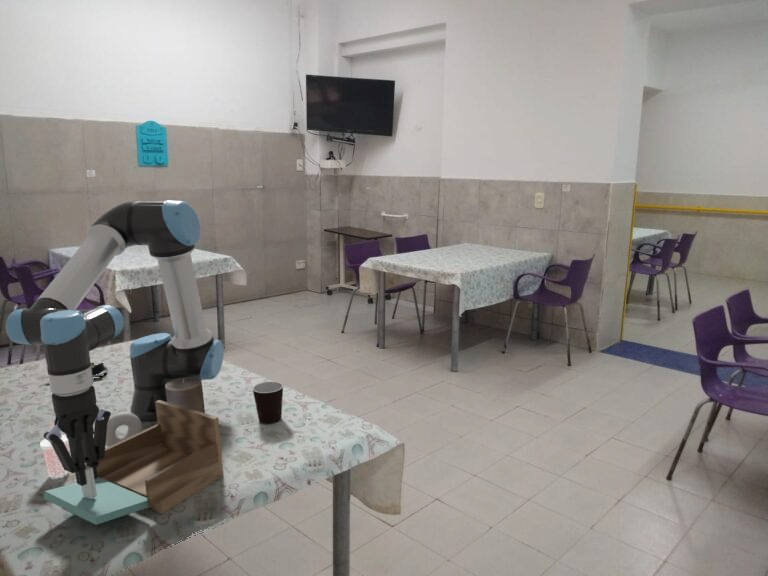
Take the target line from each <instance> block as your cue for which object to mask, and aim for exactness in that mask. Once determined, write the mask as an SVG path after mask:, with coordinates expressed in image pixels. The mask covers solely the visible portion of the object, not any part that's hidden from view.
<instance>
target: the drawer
mask: <svg viewBox="0 0 768 576" xmlns="http://www.w3.org/2000/svg"><path fill="white" fill-rule="evenodd" d="M155 404H156V413H157V420H156V421H157V424H155V425H152V426H150V427H149V428H146V429H144V430H142V432H139V433H137V434H135V435H133V436H131V437H129V438H127V439H124V440H122V441H120V442H118V443H116V444H114V445H112V446H110V447H108V446H106V447H105V456H104V458H103V459H100V460H99V461H98V462H99V465H98V466H97V467H96V468H97V474H98V477H99V478H101V479H104V480H106V481H108V482H111V483H113V484H115V485H118V486H120V487H122V488H125V489H127V490H129V491H132V492H134V493H136V494H139V495H141V496H143V497H146V498H147V502H148V506H150V507H148V508H147V509H150V510H152V511H153V512H156V513H158V514H159V515H160V514H161V515H163V514H164V513H166V512H167V511H170V510H171V509H172V508H174V507H175V506H177V505H180V503H182V502H184V501H186V500H187V499H188V498H190V497H191V496H193V495H195V494H197V493H198V492H199V491H201V490H202V489H204V488H206V487H207V486H209V485H211V484H212V483H214V482H215V481H217V480H218V479H220V478H221V477H223V476H224V468H223V467H224V466H223V465H224V464H223V456H222V444H221V435H220V421H219V416H216V415H212V414H209V413H206V412H205V413H202V412H199V411H196V410H192V409H189V408H185V407H182V406H178V405H175V404H171V403H168V402H165V401H161V400H158V401H156V402H155ZM98 477H97V478H98Z"/></svg>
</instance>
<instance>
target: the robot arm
mask: <svg viewBox="0 0 768 576" xmlns="http://www.w3.org/2000/svg"><path fill="white" fill-rule="evenodd" d="M200 230H201V225H200V220H199V217H198V214H197V212H196V211H195V209H194V207H193V206H192V205H190V204H189V203H188V202H186V201H183V200H173V199H168V200H167V199H165V200H130V201H126V202H123V203H121V204H118V205H116V206H114V207H112V208H111V209H109V210H108V211H106V212H105V213H104V214H102V215H101V216H100V217H99V218H98V219H96V221H95V222H94V223H92V225H91V226H90V227H89V229H87V232H86V239H85V240H84V242H83V243H82V244H81V245H80V246H79V248H78V249H77V250H76V252H75V253H74V254H73V255H72V256H71V258H70V259H69V260H68V261H67V262H66V263H65V264H64V266H63V267H62V268H61V270H60V271H59V272H58V273H57V274H56V276H55V277H54V278H53V279H52V281H51V282H50V283H49V285H48V286H47V287H46V288H44V290H43V292H42V293H41V294H40V295H39V296H38V298H37V299H36V301H35V302H34V303H33V304H32V306H31V307H30V308H26V307H25V308H24V307H23V308H20V309H15V310H14V311H12V312H11V313H9V315H8V317H7V319H6V321H5V332H6V334H7V336H8V338H9V340H10V341H12V342H13V343H15V344H21V345H28V346H35V345H36V346H38V345H39V346H40V345H41V346H42V348H43V351H44V352H43V353H44V358H45V362H46V368H47V369H46V370H47V377H48V378H49V381H48V382H49V383H48V384H49V388H50V392H51V393H52V394H51V400H52V407H53V411H54V414H55V420H54V422H53V427H54V428H53V429H51V430H50V431H46V432H45V433H43V438H44V439H47V440H48V441H49V442H50V443H51V444H52V446H53V448H54V450H55V452H56V454H57V456H58V458H59V460H60V462H61V464H62V466H63V468H64V470H66V471H68V472H71V473H70V474H75V480H76V483H78V485H81V486H82V492H83V496H84V497H87V498H89V499H93V498H95V497H96V496H97V492H96V486H95V479H97V477H98V474H97V468H96V467H97V466H98V465H99V462H98V461H99V460H100V459H103V458H104V456H105V448H106V434H107V423H108V420H109V418H110V417H111V416H112V413H111V411H108V410H106V409H100V408H99V406H98V405H97V396H96V389H95V386H94V379H93V376H92V369H91V363H92V362H91V357H90V355H91V354H90V352H91V351H92V350H94V349H96V348H99V347H100V346H102V345H104V344H106V343H108V342H111V341H113V339H115V337H117V336H118V335H120V334H121V333H122V331H123V329H124V325H125V320H124V317H123V314H122V312H120V310H119V309H117V308H116V307H114V306H112V305H110V304H102V305H100V306H99V305H97V306H95V307H93V308H91V309H78V307H79V306H80V304H82V302H83V300H84V299H85V297H86V296H87V294H88V293H90V291H91V290H92V288H93V286H94V285H96V284H95V283H97V281H98V280H99V278H100V277H101V276H102V275H103V273H104V272H105V270H106V269H107V267H108V266H109V265H110V264H111V262H112V261H113V259H114V258H115V257H116V256H119V255H121V254H122V253H124V251H125V250H126V249H128V248H129V247H133V246H147V247H148V248H147V249H148V252H149V255H150V256H151V257H152V258H154V259H155V260H156V261H157V264H158V267H159V272H160V277H161V280H162V285H163V289H164V293H165V294H164V295H165V297H166V302H167V306H168V310H169V315H170V319H171V323H172V329H173V331H174V336H171V334H170V333H167V332H160V333H153V334H150V335H147V336H142V337H140V338H138V339H136V340H134V341H132V342H131V343H130V346H129V359H130V364H131V373H132V380H133V389H134V391H133V395H132V400H131V405H130V413H133V414H134V415H136V416H137V417H138V418H139V419H140V421H141V422H142V421H143V422H148V421H149V422H150V421H157V413H156V404H155V402H156V401H158V400H161V401H165V402H167V396H166V388H165V385H166V384H167V383H168V382H170V381H172V380H175V379H178V378H184V377H197V378H199V379H201V381H203V380H204V381H205V380H206V381H207V380H208V381H209V380H213V379H216V377H217V376H218V375H219V374H220V371H221V369H222V365H223V362H224V361H223V360H224V352H225V351H224V350H225V349H224V344H223V342H222V341H221V340H219V339H215V338H214V334H213V332H212V330H211V329H209V328H206V323H205V317H204V313H203V308H202V307H203V306H202V304H201V298H200V293H199V288H198V284H197V279H196V274H195V269H194V265H193V264H194V263H193V260H192V253H193V251H194V250H195V249H196V244H197V243H198V242H199V240H200V237H201V232H200ZM48 378H47V379H48ZM61 432H62V433H64V435H66V437H67V439H68V441H69V442H68V445H69V452H68V450H67V448H66V446H65V444H64V442H63V441H62V439H60V438H62V436H61V435H62V433H61Z"/></svg>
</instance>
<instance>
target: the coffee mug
mask: <svg viewBox="0 0 768 576" xmlns="http://www.w3.org/2000/svg"><path fill="white" fill-rule="evenodd" d="M252 393H253V398H254V402H255V408H256V413H257V417H258V422H259V423H260V424H261V425H274V424H276V423H278V422H281V420H282V413H283V393H284V384H283V383H282V382H280V381H275V380H274V381H273V380H271V381H270V380H269V381H263V382H260V383H257V384H255V385H254V386H252Z"/></svg>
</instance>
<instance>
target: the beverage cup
mask: <svg viewBox="0 0 768 576" xmlns="http://www.w3.org/2000/svg"><path fill="white" fill-rule="evenodd" d="M50 428H51V430H52V429H53V428H54V422H53V420H50ZM61 436H62V438H60V439H62V441H63V442H64V444H65V446H66V448H67V450H68V452H69V453H70V447H69V441H68V439H67V437H66V434H61ZM39 446H40V450H41V451H42V453H43V457H44V463H45V465H46V470H47V471H46V472H47V475H48V477H49V476H50V477H59V476H62V475H64V474H67V473H68V471H66V470H64V468H63V466H62V464H61V462H60V460H59V458H58V456H57V454H56V452H55V450H54V448H53V446H52V444H51V443H50V442H49V441H48V440H47V439H45V438H44V439H42V440H41V441H40V443H39Z"/></svg>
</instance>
